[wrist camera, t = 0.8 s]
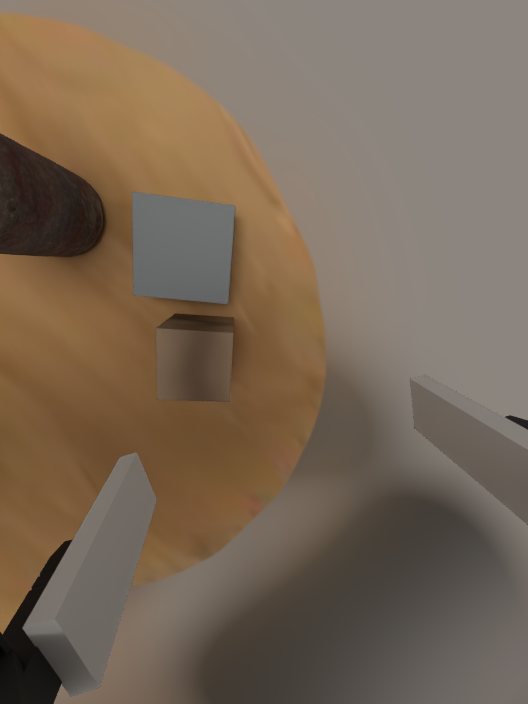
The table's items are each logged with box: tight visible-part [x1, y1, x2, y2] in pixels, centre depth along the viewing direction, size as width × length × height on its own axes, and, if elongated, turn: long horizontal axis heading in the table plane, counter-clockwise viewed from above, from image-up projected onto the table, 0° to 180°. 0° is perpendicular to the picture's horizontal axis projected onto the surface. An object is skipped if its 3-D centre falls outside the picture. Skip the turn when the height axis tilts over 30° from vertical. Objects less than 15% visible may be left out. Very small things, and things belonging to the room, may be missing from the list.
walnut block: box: [156, 314, 234, 402], centre depth 28 cm, size 6×6×8 cm
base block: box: [132, 192, 235, 304], centre depth 27 cm, size 8×8×5 cm
